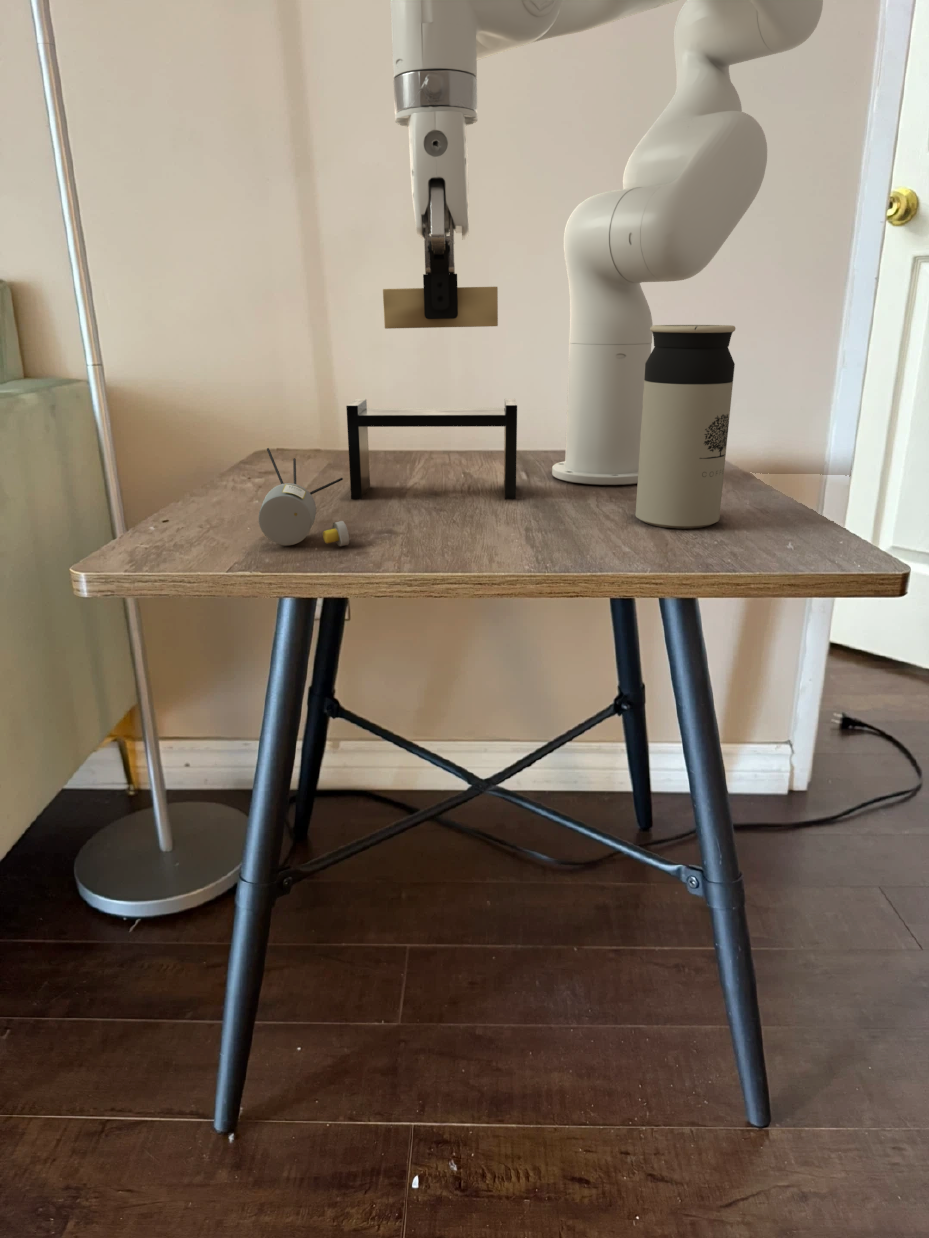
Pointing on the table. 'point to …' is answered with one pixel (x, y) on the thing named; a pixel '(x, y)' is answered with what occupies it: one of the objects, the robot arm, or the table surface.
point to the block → (409, 313)
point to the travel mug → (685, 425)
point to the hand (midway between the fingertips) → (441, 316)
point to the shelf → (426, 417)
